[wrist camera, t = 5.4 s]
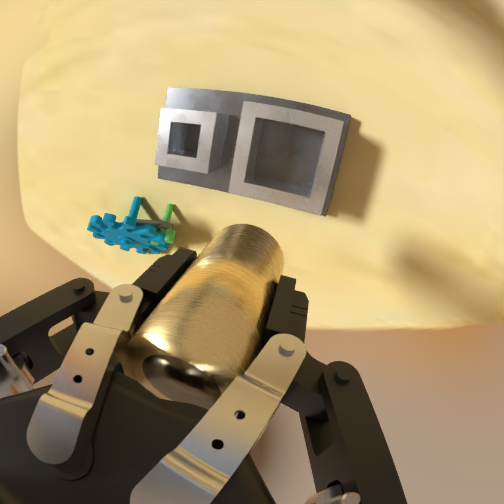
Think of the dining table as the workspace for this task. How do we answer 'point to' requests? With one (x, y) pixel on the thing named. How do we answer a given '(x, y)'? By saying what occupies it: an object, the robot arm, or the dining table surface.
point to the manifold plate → (252, 146)
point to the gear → (135, 230)
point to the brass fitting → (210, 319)
